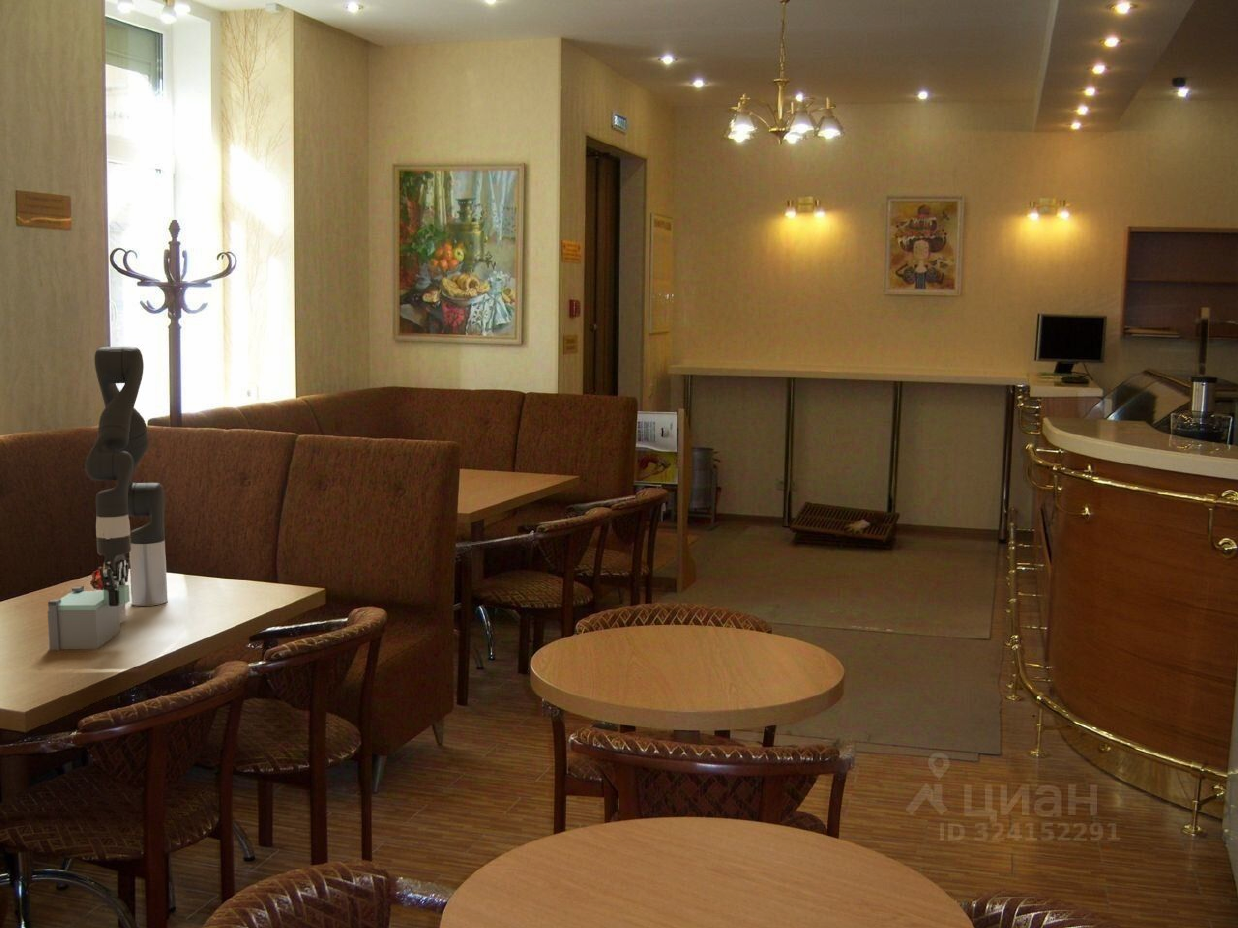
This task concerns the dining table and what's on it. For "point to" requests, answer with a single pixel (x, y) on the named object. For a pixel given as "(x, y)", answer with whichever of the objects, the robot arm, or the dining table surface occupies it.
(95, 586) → the dragon fruit
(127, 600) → the snap lid
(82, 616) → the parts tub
